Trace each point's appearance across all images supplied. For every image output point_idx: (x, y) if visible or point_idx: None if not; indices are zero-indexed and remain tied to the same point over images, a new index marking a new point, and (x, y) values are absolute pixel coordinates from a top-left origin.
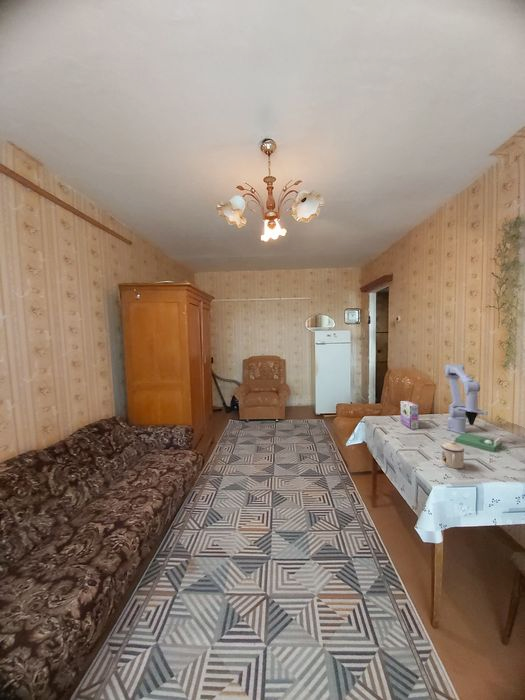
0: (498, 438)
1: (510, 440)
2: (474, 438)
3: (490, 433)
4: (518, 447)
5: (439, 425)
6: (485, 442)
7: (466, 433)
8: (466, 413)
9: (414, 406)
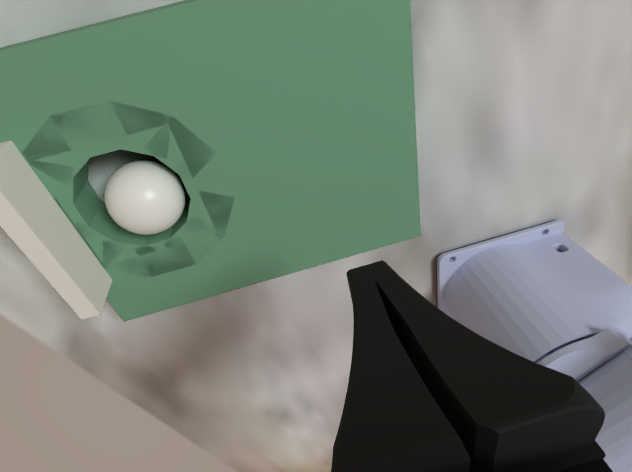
0: (81, 300)
1: (198, 400)
2: (280, 173)
3: (334, 394)
4: (67, 353)
5: (625, 255)
6: (149, 170)
7: (401, 231)
8: (564, 413)
9: None
